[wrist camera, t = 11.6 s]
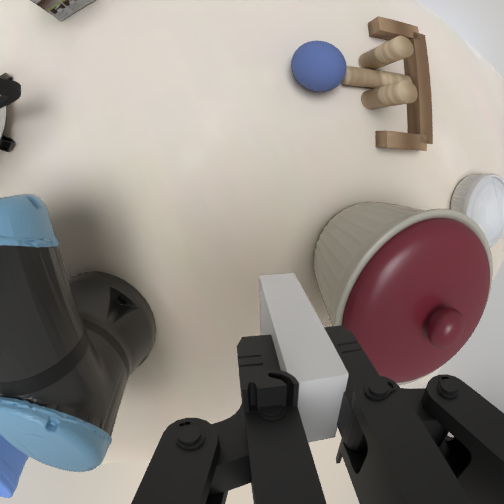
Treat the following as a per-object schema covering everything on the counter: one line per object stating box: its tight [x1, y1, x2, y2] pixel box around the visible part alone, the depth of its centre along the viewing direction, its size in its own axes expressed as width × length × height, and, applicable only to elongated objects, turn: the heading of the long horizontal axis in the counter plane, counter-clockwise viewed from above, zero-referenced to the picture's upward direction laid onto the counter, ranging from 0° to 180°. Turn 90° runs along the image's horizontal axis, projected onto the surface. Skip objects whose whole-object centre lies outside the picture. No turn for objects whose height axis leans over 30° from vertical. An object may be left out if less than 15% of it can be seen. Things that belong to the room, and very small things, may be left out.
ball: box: [291, 41, 346, 92], centre depth 29 cm, size 6×6×6 cm
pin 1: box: [359, 36, 414, 70], centre depth 28 cm, size 2×2×9 cm
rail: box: [368, 17, 433, 151], centre depth 32 cm, size 7×17×3 cm, turn 2°
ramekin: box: [451, 173, 504, 247], centre depth 37 cm, size 11×11×5 cm
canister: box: [314, 202, 493, 385], centre depth 30 cm, size 18×18×21 cm
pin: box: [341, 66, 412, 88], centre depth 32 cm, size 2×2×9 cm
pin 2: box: [361, 80, 418, 109], centre depth 29 cm, size 2×2×9 cm
